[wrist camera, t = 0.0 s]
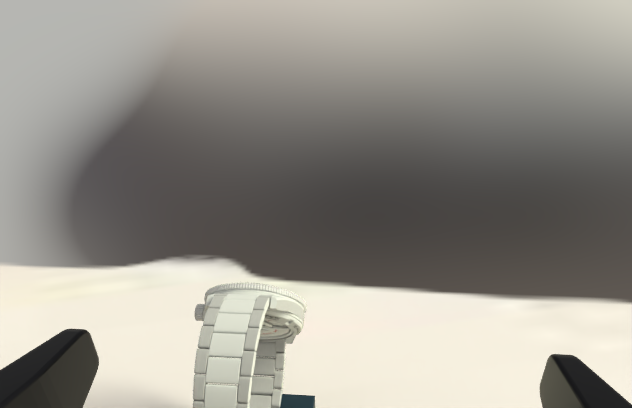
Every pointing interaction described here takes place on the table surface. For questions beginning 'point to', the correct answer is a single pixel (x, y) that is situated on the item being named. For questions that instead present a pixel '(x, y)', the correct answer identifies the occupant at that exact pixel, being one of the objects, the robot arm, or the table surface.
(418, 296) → the table surface
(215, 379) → the watch
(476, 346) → the table surface
